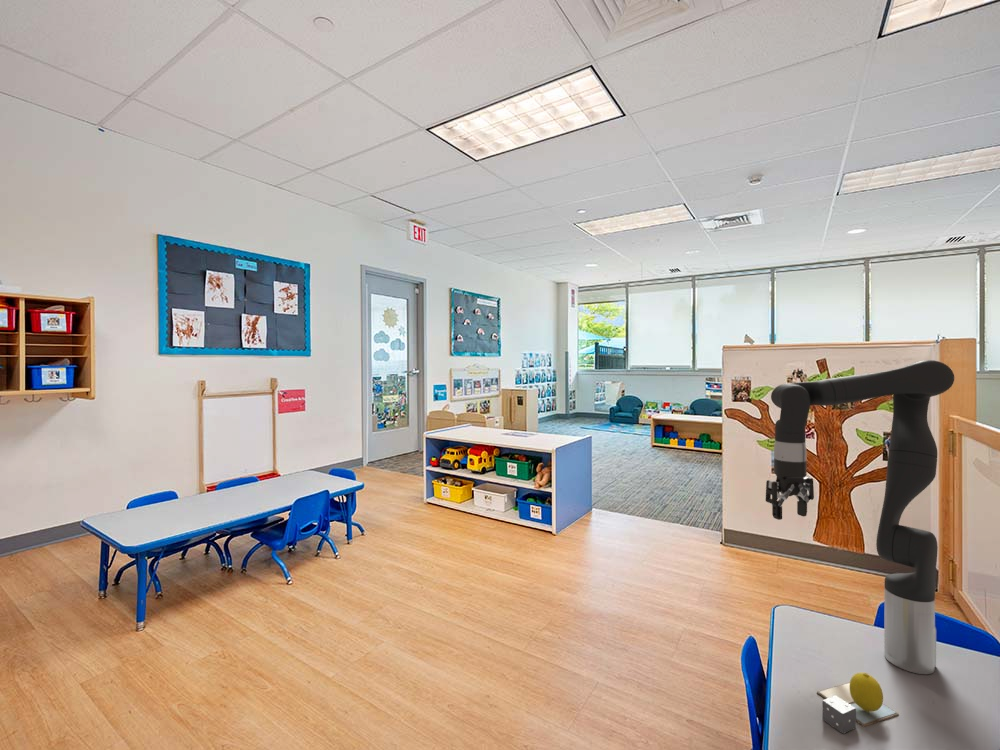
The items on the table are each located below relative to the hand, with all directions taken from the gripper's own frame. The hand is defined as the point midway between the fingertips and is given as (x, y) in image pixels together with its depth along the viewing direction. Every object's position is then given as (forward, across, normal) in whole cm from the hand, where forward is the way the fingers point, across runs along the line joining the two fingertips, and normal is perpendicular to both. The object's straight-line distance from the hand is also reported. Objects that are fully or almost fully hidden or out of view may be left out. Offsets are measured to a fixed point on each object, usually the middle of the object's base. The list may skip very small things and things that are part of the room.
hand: (789, 517), depth 125 cm
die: (+30, -19, -25) cm, 43 cm away
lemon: (+32, -10, -27) cm, 43 cm away
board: (+32, -10, -24) cm, 41 cm away
